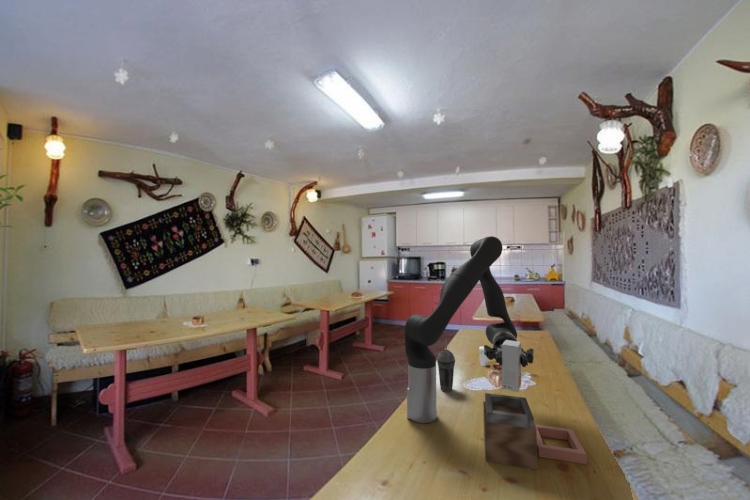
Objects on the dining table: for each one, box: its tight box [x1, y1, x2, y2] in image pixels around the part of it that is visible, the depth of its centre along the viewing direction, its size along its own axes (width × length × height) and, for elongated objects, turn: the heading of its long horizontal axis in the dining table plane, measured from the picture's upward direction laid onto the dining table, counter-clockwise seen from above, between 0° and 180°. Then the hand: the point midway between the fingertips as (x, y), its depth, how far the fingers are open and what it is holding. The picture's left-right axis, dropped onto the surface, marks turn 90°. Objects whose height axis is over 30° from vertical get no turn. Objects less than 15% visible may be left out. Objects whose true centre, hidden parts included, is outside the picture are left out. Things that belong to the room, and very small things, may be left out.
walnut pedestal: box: [482, 392, 538, 471], centre depth 84 cm, size 12×12×12 cm
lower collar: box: [534, 423, 588, 465], centre depth 86 cm, size 11×12×2 cm
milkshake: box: [478, 345, 491, 367], centre depth 152 cm, size 5×5×10 cm
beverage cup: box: [436, 338, 456, 393], centre depth 124 cm, size 7×7×20 cm
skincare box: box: [501, 340, 522, 393], centre depth 85 cm, size 6×4×12 cm
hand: (512, 362), depth 82 cm, fingers closed on skincare box, 5 cm apart
